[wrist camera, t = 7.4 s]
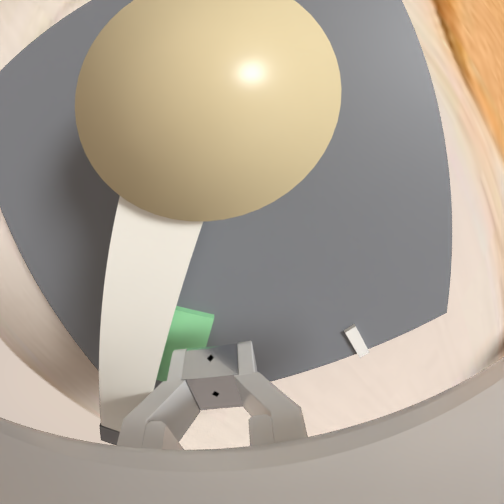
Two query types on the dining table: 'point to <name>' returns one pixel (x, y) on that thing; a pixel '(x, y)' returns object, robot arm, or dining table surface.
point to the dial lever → (191, 151)
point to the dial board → (259, 221)
